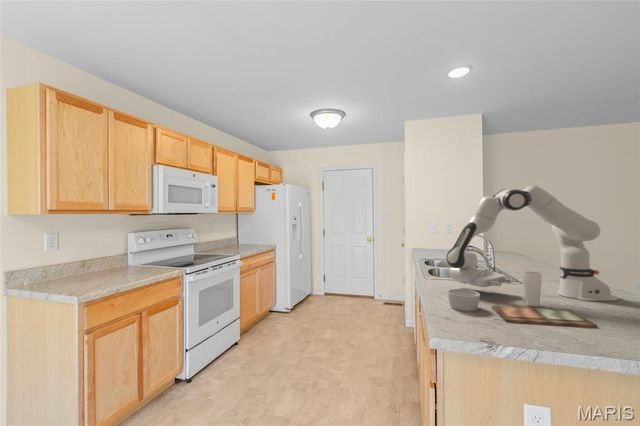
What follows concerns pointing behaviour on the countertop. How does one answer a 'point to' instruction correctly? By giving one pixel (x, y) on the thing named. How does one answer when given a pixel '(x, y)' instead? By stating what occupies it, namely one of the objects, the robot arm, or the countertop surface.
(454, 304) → the ramekin
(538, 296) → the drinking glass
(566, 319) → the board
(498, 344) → the countertop surface
